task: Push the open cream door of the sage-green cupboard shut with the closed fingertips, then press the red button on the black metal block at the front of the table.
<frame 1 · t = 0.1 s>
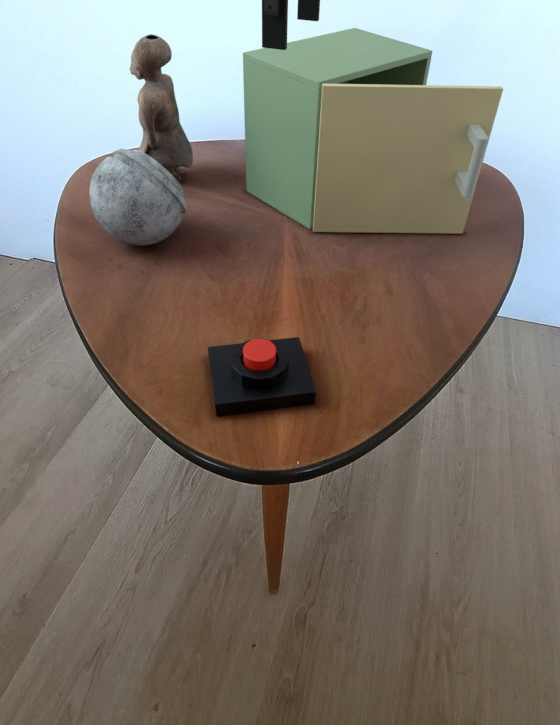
hand: (292, 33, 67), 32 cm above the table, tool pointing down, fingers open, 13 cm apart
decorative orb: (145, 239, 93), on the table
door: (402, 173, 86), point 12 cm above the table, hinge at 40.0°
button: (259, 355, 67), point 4 cm above the table, slide at 0.1 cm
button block: (259, 380, 70), on the table
clay figurine: (169, 178, 109), on the table
cupboard: (327, 188, 107), on the table
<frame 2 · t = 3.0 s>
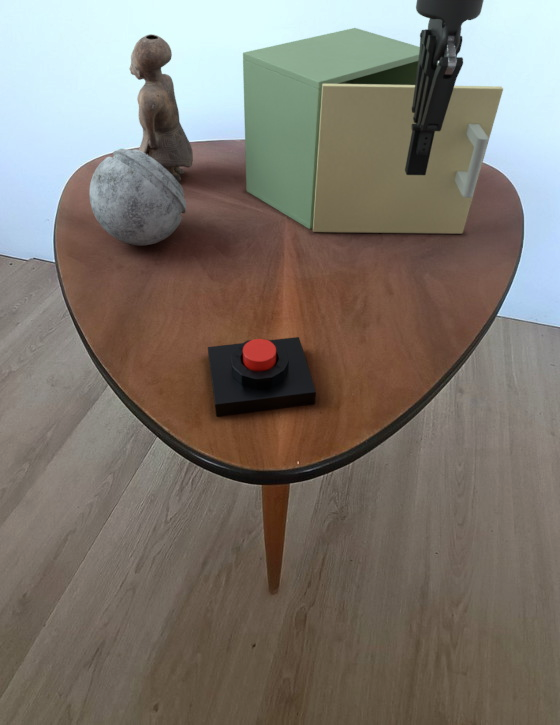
hand: (415, 172, 79), 15 cm above the table, tool pointing down, fingers closed
nothing on the table moved.
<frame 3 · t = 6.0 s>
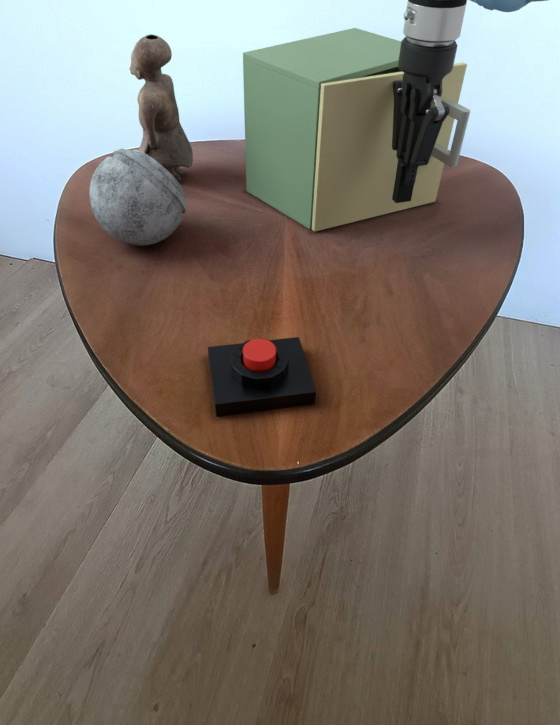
hand: (401, 199, 91), 7 cm above the table, tool pointing down, fingers closed
door: (395, 157, 90), point 12 cm above the table, hinge at 14.2°, touching hand
everything else where it was.
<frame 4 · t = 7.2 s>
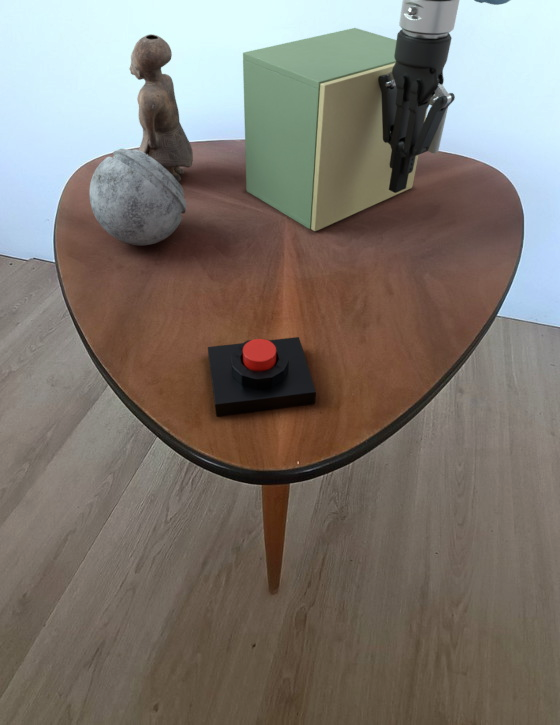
hand: (397, 188, 94), 7 cm above the table, tool pointing down, fingers closed
door: (386, 149, 92), point 12 cm above the table, hinge at 0.0°, touching hand
everything else where it was.
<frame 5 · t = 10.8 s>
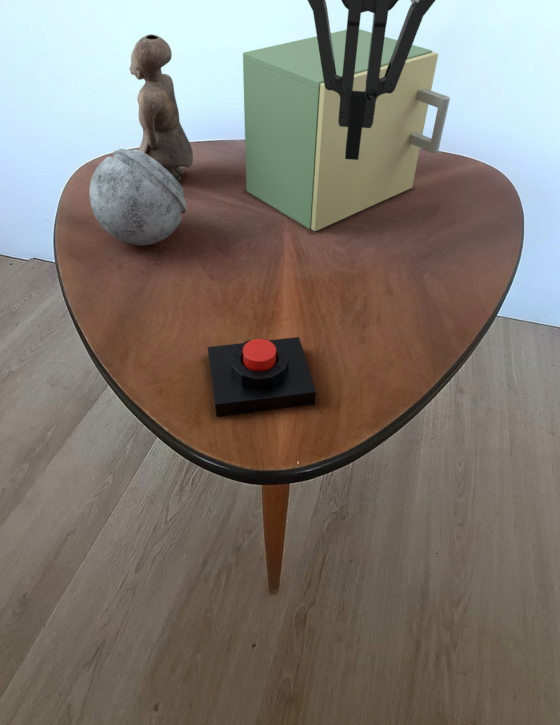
hand: (351, 154, 64), 23 cm above the table, tool pointing down, fingers closed
door: (386, 149, 92), point 12 cm above the table, hinge at 0.0°
everything else where it was.
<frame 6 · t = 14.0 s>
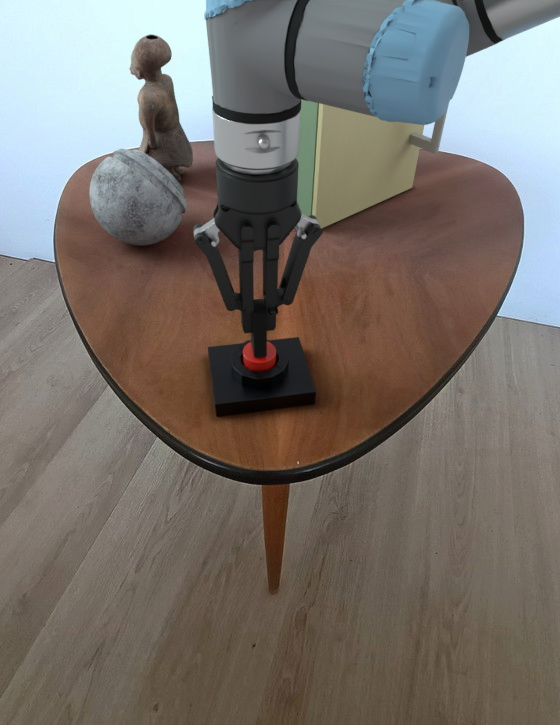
hand: (258, 349, 66), 5 cm above the table, tool pointing down, fingers closed
button: (259, 356, 67), point 4 cm above the table, slide at -0.1 cm, touching gripper
everything else where it was.
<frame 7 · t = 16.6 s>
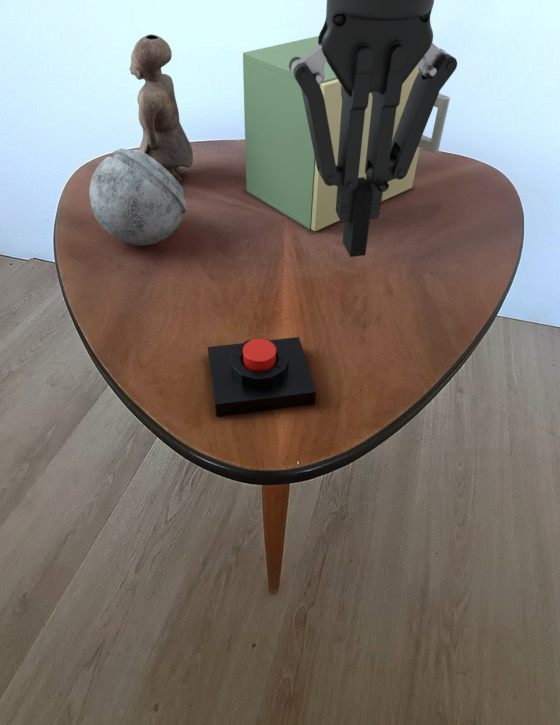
hand: (353, 248, 53), 21 cm above the table, tool pointing down, fingers closed
button: (259, 355, 67), point 4 cm above the table, slide at 0.1 cm
everything else where it was.
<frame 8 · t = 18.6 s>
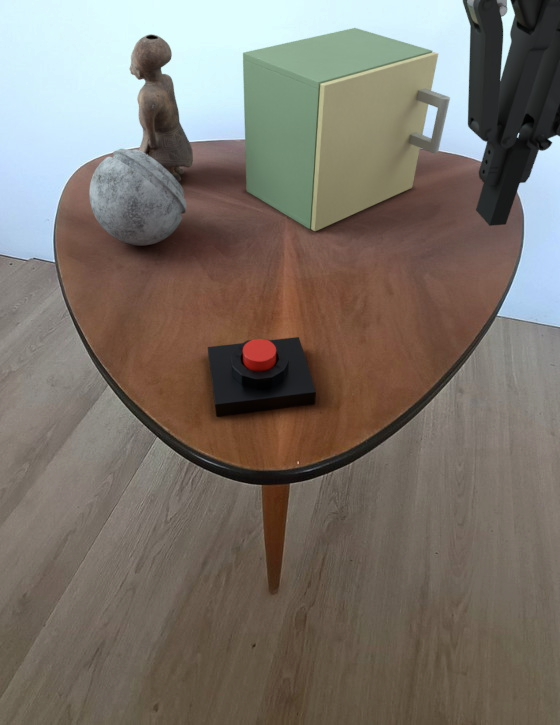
hand: (490, 216, 48), 26 cm above the table, tool pointing down, fingers closed
nothing on the table moved.
at the end: door at +0° (first picture: +40°); button pushed in 1.0 cm at the most during the clip, back to where it started at the end; button slide at 0.1 cm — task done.
